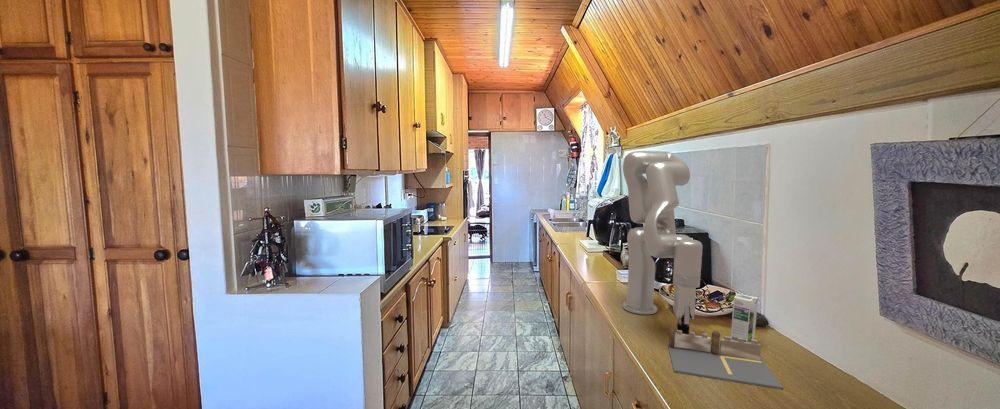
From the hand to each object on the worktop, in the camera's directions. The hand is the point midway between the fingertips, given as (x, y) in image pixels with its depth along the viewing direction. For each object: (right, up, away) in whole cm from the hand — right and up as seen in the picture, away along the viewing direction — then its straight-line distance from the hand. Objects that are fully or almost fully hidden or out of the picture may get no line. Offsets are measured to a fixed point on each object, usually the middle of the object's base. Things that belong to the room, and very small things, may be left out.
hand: (682, 336), depth 122 cm
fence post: (+11, -3, -9) cm, 14 cm away
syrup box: (+20, -2, +2) cm, 20 cm away
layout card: (+5, -3, -12) cm, 13 cm away
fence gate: (-1, -2, -5) cm, 6 cm away
